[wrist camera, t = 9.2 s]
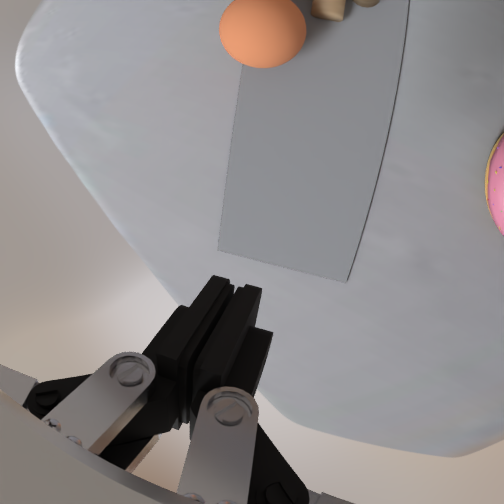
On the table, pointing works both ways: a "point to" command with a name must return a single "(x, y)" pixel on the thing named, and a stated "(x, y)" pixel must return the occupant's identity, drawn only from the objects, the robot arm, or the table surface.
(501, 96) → the table surface
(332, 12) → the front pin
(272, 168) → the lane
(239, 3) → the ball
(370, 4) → the pin
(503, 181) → the doughnut
